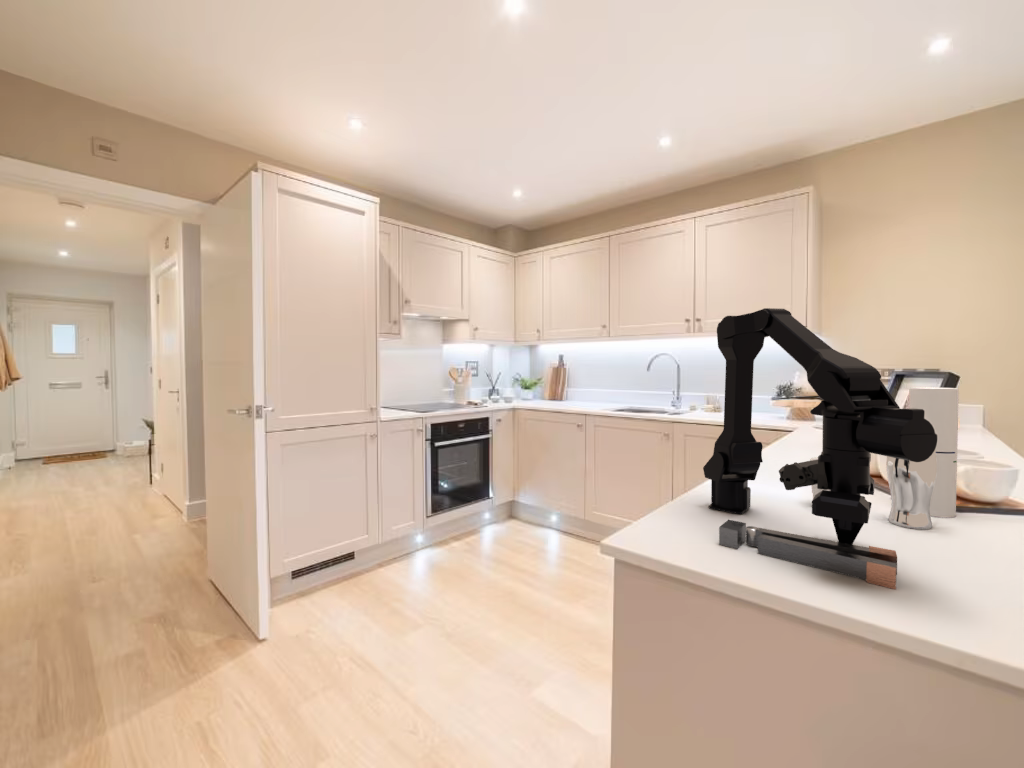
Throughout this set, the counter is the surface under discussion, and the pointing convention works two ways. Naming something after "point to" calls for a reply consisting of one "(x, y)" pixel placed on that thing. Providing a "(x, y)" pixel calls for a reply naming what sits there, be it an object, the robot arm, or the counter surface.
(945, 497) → the beige tall box
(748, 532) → the bar
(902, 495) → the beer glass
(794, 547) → the base
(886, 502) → the counter surface
